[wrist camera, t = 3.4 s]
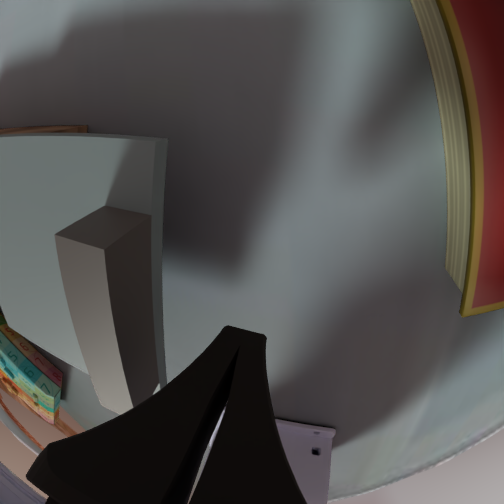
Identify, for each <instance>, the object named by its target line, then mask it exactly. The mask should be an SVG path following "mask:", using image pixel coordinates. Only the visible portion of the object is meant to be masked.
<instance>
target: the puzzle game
mask: <svg viewBox="0 0 504 504" xmlns="http://www.w3.org/2000/svg"><path fill="white" fill-rule="evenodd" d="M62 377H63V373H62V372H61V371H59V370H58V369H57V368H56V367H55V366H54V365H52V364H51V363H50V362H49V361H48V360H47V359H46V358H45V357H43V356H42V355H41V354H40V353H39V352H38V351H37V350H36V349H35V348H34V347H33V346H32V345H31V344H30V343H29V342H28V341H27V340H26V339H24V338H23V337H22V335H21V334H19V333H18V332H16V331H15V330H13V329H12V328H10V327H9V326H8V324H7V321H6V319H5V318H4V316H3V315H2V314H1V313H0V378H1V380H2V382H3V383H4V384H5V385H6V386H7V388H8V390H9V391H10V392H11V393H12V394H13V393H14V394H15V395H16V396H17V395H18V396H19V397H20V398H21V399H22V400H23V401H25V402H26V403H27V404H28V405H29V406H30V407H31V408H32V409H33V410H34V411H36V412H37V413H38V414H39V415H40V416H41V417H43V418H44V419H45V420H46V421H47V422H49V423H51V424H55V423H56V422H57V420H58V419H59V404H60V396H61V386H62Z"/></svg>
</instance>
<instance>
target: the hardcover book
mask: <svg viewBox="0 0 504 504" xmlns="http://www.w3.org/2000/svg"><path fill="white" fill-rule="evenodd" d="M410 2H411V5H412V7H413V10H414V13H415V16H416V19H417V22H418V25H419V28H420V31H421V34H422V37H423V41H424V44H425V48H426V51H427V55H428V59H429V63H430V67H431V71H432V76H433V80H434V85H435V90H436V95H437V101H438V106H439V112H440V119H441V126H442V134H443V143H444V153H445V165H446V182H447V241H446V258H445V269H446V270H447V272H448V273H449V275H450V276H451V278H452V279H453V280H454V282H455V283H456V285H457V286H458V288H459V290H460V291H461V293H462V299H461V305H460V310H459V313H460V314H461V316H462V318H463V317H468V316H472V315H477V314H481V313H485V312H489V311H494V310H498V309H502V308H504V0H410Z"/></svg>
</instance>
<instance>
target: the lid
mask: <svg viewBox="0 0 504 504" xmlns="http://www.w3.org/2000/svg"><path fill="white" fill-rule="evenodd" d="M167 150H168V139H166V138H156V137H145V136H132V135H117V134H97V133H20V134H2V135H0V306H1V308H2V311H3V314H4V316H5V319H6V321H7V324H8V326H9V327H10V328H12V329H13V330H15V331H16V332H18V333H19V334H21V335H22V336H24V337H25V338H27V339H28V340H30V341H31V342H33V343H34V344H36V345H38V346H39V347H41V348H42V349H44V350H46V351H47V352H49V353H51V354H52V355H54V356H56V357H57V358H59V359H61V360H63V361H65V362H66V363H68V364H70V365H72V366H74V367H75V368H77V369H79V370H81V371H83V372H85V373H87V374H89V375H90V378H91V381H92V383H93V386H94V389H95V391H96V394H97V396H98V398H99V401H100V403H101V406H103V407H105V408H107V409H110V410H112V411H114V412H116V413H118V414H120V415H121V414H123V413H125V412H127V411H128V410H130V409H132V408H133V407H135V406H137V405H138V404H140V403H142V402H143V401H145V400H146V399H148V398H149V397H151V396H152V395H154V394H155V393H156V392H158V391H159V390H161V389H162V388H163V387H164V386H166V385H167V377H166V364H165V348H164V329H163V299H162V240H163V209H164V190H165V175H166V161H167Z"/></svg>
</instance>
